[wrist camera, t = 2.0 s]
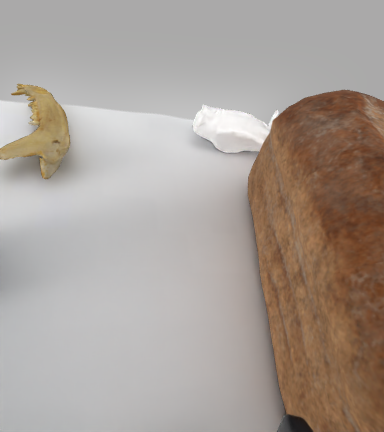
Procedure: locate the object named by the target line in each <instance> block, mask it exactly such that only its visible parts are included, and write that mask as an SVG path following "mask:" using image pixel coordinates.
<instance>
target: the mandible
mask: <svg viewBox="0 0 384 432" xmlns="http://www.w3.org/2000/svg"><path fill="white" fill-rule="evenodd" d="M17 85H18V86H17V88H18V90H17V91H16V92H14V93H11V95H23V94H25V96H31V97H29V98H28V99H27V100H30V101H33V102H31V103H30V104H28V106H32V109H33V110H31V111H32V113H33V115H32V116H31V117H30V118H31V119H32V120H33V121H30V122H29V124H30V125H40V126H39V127H38V129H37V130H36V131H34V132H33V133H32V134H30V135H28V136H26V137H23V138H21V139H19V140H17V141H14V142H12V143H10V144H7V145H5V146H4V147H2V148H1V149H0V159H4V160H8V159H10V158H12V159H13V158H15V157H28V156H33V155H40V156H42V157H43V159H42V158H39V160H40V167H41V174H42V177H43V178H44V179H49V178H50V177H51V176H52V174H53V173H54V172H55V171H56V170H57V169H58V168H59V166H60V164H61V161H62V158H63V156H64V155H65V154H66V153H67V151H68V149H69V146H70V136H69V131H68V122H67V117H66V114H65V112H64V110H63V109H62V107H61V106H60V105H59V104H58V103H57V102H56V101H55V99H54V98H53V96H52V94H51V93H49V92H48V91H47V90H45V89H43V88H41V87H38V86H33V85H22V84H17ZM34 100H35V101H34Z"/></svg>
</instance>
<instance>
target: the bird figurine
mask: <svg viewBox="0 0 384 432" xmlns="http://www.w3.org/2000/svg"><path fill="white" fill-rule="evenodd" d="M202 107H203V109H202V110H201V111H199V112H198V113H197V115H196V118H195V120H194V123H193V129H194V132H195V133H196V134H198V135H199V136H201V137H203V138H205V139H207V140H209V141H211V142H212V143H213V144H214V146H215V147H216V148H217V149H218V150H220V151H222V152H225V153H238V152H241V151H246V150H247V151H260V149H261V147H262V145H263V142H264V141H265V139H266V137H267V136H268V134H269V133H270V130H271V125H272V121H273V120H274V119H275V118H276V117H277V116H278V115H277V113H278V110H276V111H275V113H274V115H273V116H272V118H271V120H270V122H269V125H266V124H265V123H264V122H263V121H261V120H259V119H256V118H255V117H254V116H252V115H251V114H248V113H245V112H240V111H233V110H223V109H220V108H215V107H207V106H206V105H205V104H204V105H202ZM276 115H277V116H276Z"/></svg>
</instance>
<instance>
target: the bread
mask: <svg viewBox="0 0 384 432" xmlns="http://www.w3.org/2000/svg"><path fill="white" fill-rule="evenodd" d="M248 197H249V202H250V207H251V211H252V216H253V221H254V228H255V234H256V241H257V250H258V257H259V266H260V276H261V282H262V288H263V293H264V297H265V302H266V307H267V313H268V318H269V325H270V331H271V338H272V344H273V350H274V356H275V363H276V370H277V376H278V382H279V388H280V392H281V396H282V399H283V403H284V406H285V410H286V414H290V415H295V416H300V417H302V418H303V419H305V421H306V422H307V423H308V424H309V426H310V427H311V428H312V430H313V431H314V432H384V101H382V100H380V99H377V98H375V97H372V96H370V95H367V94H363V93H359V92H355V91H350V90H340V91H334V92H328V93H322V94H319V95H315V96H310V97H307V98H304V99H302V100H300V101H299V102H297V103H295V104H293V105H291V106H289V107H288V108H287V109H286V110H285V111H283V112H282V113H281V114H280V115H279V116H277V117H276V118H275V119H274V120H273V121H272V125H271V130H270V133H269V134H268V136H267V137H266V139H265V141H264V142H263V145H262V147H261V149H260V152H259V154H258V156H257V158H256V160H255V162H254V164H253V166H252V169H251V171H250V174H249V177H248Z"/></svg>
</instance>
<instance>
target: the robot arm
mask: <svg viewBox="0 0 384 432" xmlns="http://www.w3.org/2000/svg"><path fill="white" fill-rule="evenodd" d="M277 432H314V431H313V430H312V428H311V427H310V426H309V424H308V423H307V422H306V421H305V419H303V418H302V417H300V416H295V415H290V414H286V415H284V416H283V418H282V421H281V423H280V426H279V428H278V430H277Z"/></svg>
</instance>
